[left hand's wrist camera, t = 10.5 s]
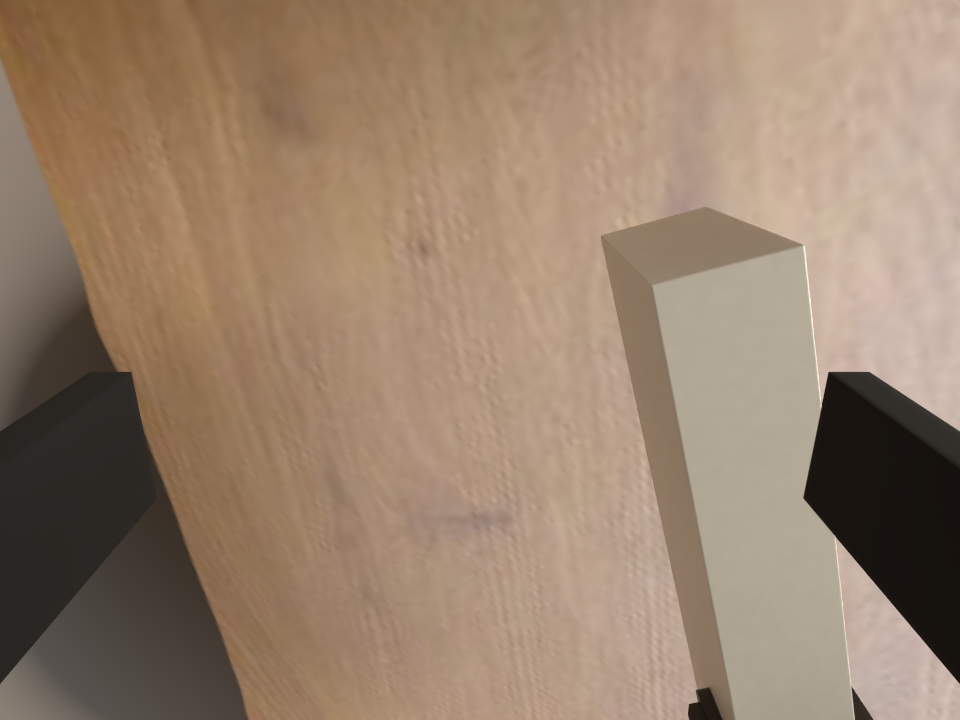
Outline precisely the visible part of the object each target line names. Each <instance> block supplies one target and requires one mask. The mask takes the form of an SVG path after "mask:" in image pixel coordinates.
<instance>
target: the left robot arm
mask: <svg viewBox="0 0 960 720" xmlns="http://www.w3.org/2000/svg"><path fill="white" fill-rule="evenodd" d="M156 499H157V496H156V491H155V486H154V481H153V476H152V471H151V467H150V461H149V457H148V452H147V447H146V442H145V437H144V432H143V427H142V422H141V417H140V412H139V407H138V402H137V397H136V393H135V388H134V383H133V378H132V373H131V372H90V373H89V374H87V375H86V376H84V377H82V378H81V379H79V380H78V381H76V382H75V383H73V384H72V385H70V386H69V387H67V388H66V389H64V390H63V391H61V392H60V393H58V394H57V395H55V396H54V397H52V398H51V399H49V400H48V401H46V402H44V403H43V404H41V405H40V406H38V407H37V408H35V409H34V410H32V411H31V412H29V413H28V414H26V415H25V416H23V417H22V418H20V419H19V420H17V421H16V422H14V423H12V424H11V425H9V426H8V427H7V428H5V429H3V430H2V431H0V683H1V682H2V681H3V680H4V679H5V677H6V676H7V675H8V674H9V673H10V671H11V670H12V669H13V668H14V667H15V666H16V664H17V663H18V662H19V661H20V660H21V658H22V657H23V656H24V655H25V654H26V653H27V651H28V650H29V649H30V648H31V647H32V646H33V644H34V643H35V642H36V641H37V640H38V638H39V637H40V636H41V635H42V634H43V633H44V631H45V630H46V629H47V628H48V627H49V625H50V624H51V623H52V622H53V621H54V619H55V618H56V617H57V616H58V615H59V614H60V612H61V611H62V610H63V609H64V608H65V606H66V605H67V604H68V603H69V602H70V600H71V599H72V598H73V597H74V596H75V595H76V593H77V592H78V591H79V590H80V589H81V588H82V586H83V585H84V584H85V583H86V582H87V580H88V579H89V578H90V577H91V576H92V575H93V573H94V572H95V571H96V570H97V569H98V567H99V566H100V565H101V564H102V563H103V562H104V560H105V559H106V558H107V557H108V556H109V554H110V553H111V552H112V551H113V550H114V548H115V547H116V546H117V545H118V544H119V543H120V541H121V540H122V539H123V538H124V537H125V535H126V534H127V533H128V532H129V531H130V530H131V528H132V527H133V526H134V525H135V524H136V522H137V521H138V520H139V519H140V518H141V517H142V515H143V514H144V513H145V512H146V511H147V509H148V508H149V507H150V506H151V505H152V503H153V502H154V501H155V500H156ZM803 499H804V500H805V501H806V502H807V504H808V505H809V506H810V507H811V508H812V509H813V511H814V512H815V513H816V514H817V515H818V517H819V518H820V519H821V520H822V521H823V522H824V524H825V525H826V526H827V527H828V528H829V530H830V531H831V532H832V533H833V534H834V535H835V537H836V538H837V539H838V540H839V541H840V543H841V544H842V545H843V546H844V547H845V548H846V550H847V551H848V552H849V553H850V554H851V556H852V557H853V558H854V559H855V560H856V562H857V563H858V564H859V565H860V566H861V567H862V569H863V570H864V571H865V572H866V573H867V575H868V576H869V577H870V578H871V579H872V580H873V582H874V583H875V584H876V585H877V586H878V588H879V589H880V590H881V591H882V592H883V593H884V595H885V596H886V597H887V598H888V599H889V601H890V602H891V603H892V604H893V605H894V606H895V608H896V609H897V610H898V611H899V612H900V614H901V615H902V616H903V617H904V618H905V619H906V621H907V622H908V623H909V624H910V625H911V627H912V628H913V629H914V630H915V631H916V633H917V634H918V635H919V636H920V637H921V638H922V640H923V641H924V642H925V643H926V644H927V646H928V647H929V648H930V649H931V650H932V651H933V653H934V654H935V655H936V656H937V657H938V659H939V660H940V661H941V662H942V663H943V664H944V666H945V667H946V668H947V669H948V670H949V672H950V673H951V674H952V675H953V676H954V677H955V679H956V680H957V681H958V682H959V683H960V431H958V430H957V429H955V428H954V427H952V426H951V425H949V424H948V423H946V422H944V421H943V420H941V419H940V418H938V417H937V416H935V415H934V414H932V413H931V412H929V411H928V410H926V409H925V408H923V407H922V406H920V405H919V404H917V403H916V402H914V401H913V400H911V399H910V398H908V397H906V396H905V395H903V394H902V393H900V392H899V391H897V390H896V389H894V388H893V387H891V386H890V385H888V384H887V383H885V382H884V381H882V380H881V379H879V378H878V377H876V376H875V375H873V374H872V373H870V372H829V373H828V378H827V383H826V388H825V393H824V397H823V402H822V407H821V412H820V417H819V422H818V427H817V432H816V437H815V442H814V447H813V452H812V457H811V461H810V466H809V471H808V476H807V481H806V486H805V491H804V496H803Z"/></svg>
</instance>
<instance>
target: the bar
mask: <svg viewBox="0 0 960 720" xmlns="http://www.w3.org/2000/svg"><path fill="white" fill-rule="evenodd" d="M601 240H602V245H603V250H604V254H605V259H606V264H607V269H608V273H609V278H610V283H611V287H612V292H613V297H614V301H615V306H616V311H617V315H618V320H619V325H620V329H621V334H622V339H623V343H624V348H625V353H626V357H627V362H628V367H629V371H630V376H631V381H632V385H633V390H634V395H635V399H636V404H637V409H638V413H639V418H640V423H641V427H642V432H643V437H644V442H645V446H646V451H647V456H648V460H649V465H650V470H651V474H652V479H653V484H654V488H655V493H656V498H657V502H658V507H659V512H660V516H661V521H662V526H663V530H664V535H665V540H666V544H667V549H668V554H669V558H670V563H671V568H672V572H673V577H674V582H675V586H676V591H677V596H678V600H679V605H680V610H681V615H682V619H683V624H684V629H685V633H686V638H687V643H688V647H689V652H690V657H691V661H692V666H693V671H694V675H695V680H696V685H697V688H698V689H702V688H707V687H709V688H710V690H711V692H712V695H713V697H714V700H715V702H716V705H717V707H718V710H719V712H720V715H721V717H722V720H855V717H854V708H853V698H852V689H851V679H850V670H849V660H848V651H847V642H846V632H845V623H844V613H843V604H842V594H841V585H840V576H839V566H838V557H837V547H836V538H835V535H834V534H833V533H832V532H831V531H830V530H829V528H828V527H827V526H826V525H825V524H824V522H823V521H822V520H821V519H820V518H819V517H818V515H817V514H816V513H815V512H814V511H813V509H812V508H811V507H810V506H809V505H808V504H807V502H806V501H805V500H804V499H803V496H804V491H805V486H806V481H807V476H808V471H809V466H810V461H811V457H812V452H813V447H814V442H815V437H816V432H817V427H818V422H819V417H820V412H821V407H822V406H821V396H820V387H819V377H818V368H817V359H816V349H815V340H814V330H813V321H812V311H811V302H810V293H809V283H808V274H807V264H806V255H805V246H804V245H803V244H800V243H798V242H795V241H793V240H790V239H788V238H785V237H783V236H780V235H778V234H775V233H772V232H770V231H767V230H765V229H762V228H760V227H757V226H755V225H752V224H750V223H747V222H744V221H742V220H739V219H737V218H734V217H732V216H729V215H727V214H724V213H721V212H719V211H716V210H714V209H711V208H709V207H704V208H700V209H696V210H693V211H689V212H685V213H682V214H678V215H675V216H671V217H667V218H664V219H660V220H656V221H653V222H649V223H645V224H642V225H638V226H634V227H631V228H627V229H623V230H620V231H616V232H613V233H609V234H605V235H602V236H601Z"/></svg>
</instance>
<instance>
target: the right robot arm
mask: <svg viewBox="0 0 960 720" xmlns="http://www.w3.org/2000/svg"><path fill="white" fill-rule="evenodd" d="M851 689H852V698H853V708H854V717H855V720H873V718H872V717H871V715H870V714H869V712H868V711H867V709H866V708H865V706H864V705H863V703H862V702H861V701H860V698H859V697H858V695H857V694H856V693H855V691H854V689H853V688H852V686H851ZM696 694H697V699H698V702H697V703H692V704H689V710H688V716H689V720H722V717H721V715H720V712H719V710H718V707H717V705H716V702H715V700H714V697H713V695H712V692H711V690H710V688H709V687H707V688H702V689H697V690H696Z"/></svg>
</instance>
